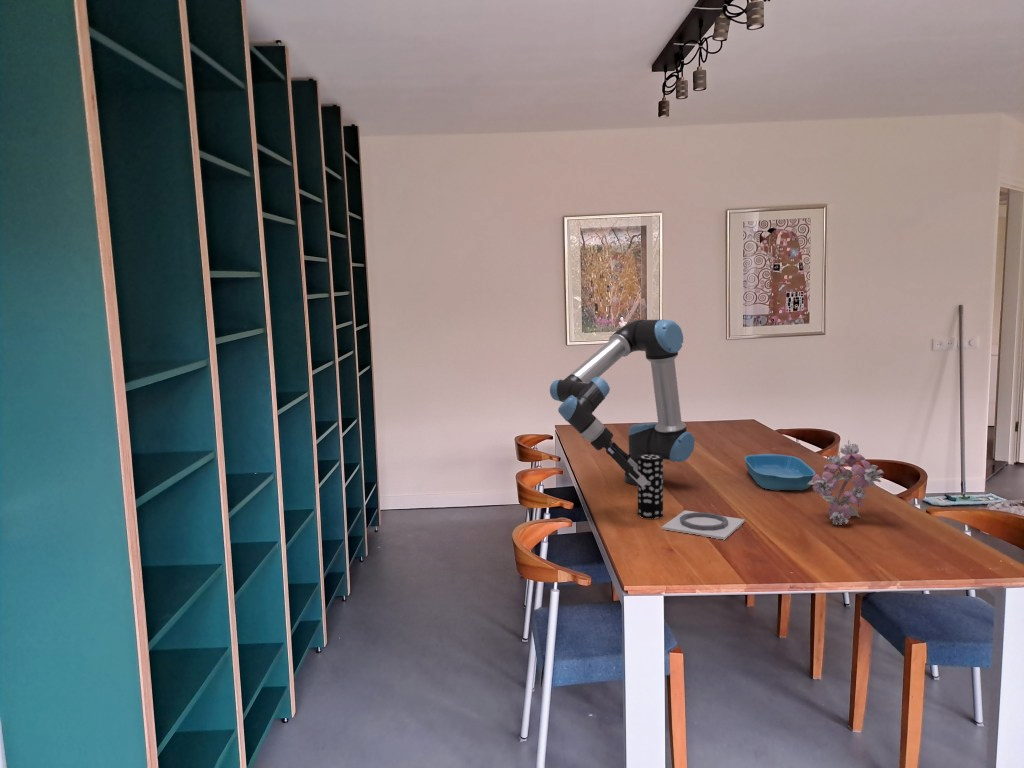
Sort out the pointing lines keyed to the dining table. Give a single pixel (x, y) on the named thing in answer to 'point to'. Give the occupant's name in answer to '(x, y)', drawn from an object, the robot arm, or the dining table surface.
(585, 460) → the dining table surface
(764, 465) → the casserole dish
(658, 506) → the spotted tube
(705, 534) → the ring dock
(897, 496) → the dining table surface
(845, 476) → the flower
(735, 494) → the dining table surface
